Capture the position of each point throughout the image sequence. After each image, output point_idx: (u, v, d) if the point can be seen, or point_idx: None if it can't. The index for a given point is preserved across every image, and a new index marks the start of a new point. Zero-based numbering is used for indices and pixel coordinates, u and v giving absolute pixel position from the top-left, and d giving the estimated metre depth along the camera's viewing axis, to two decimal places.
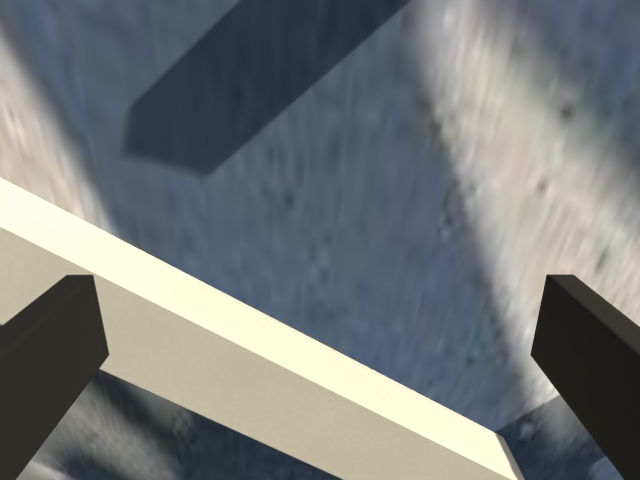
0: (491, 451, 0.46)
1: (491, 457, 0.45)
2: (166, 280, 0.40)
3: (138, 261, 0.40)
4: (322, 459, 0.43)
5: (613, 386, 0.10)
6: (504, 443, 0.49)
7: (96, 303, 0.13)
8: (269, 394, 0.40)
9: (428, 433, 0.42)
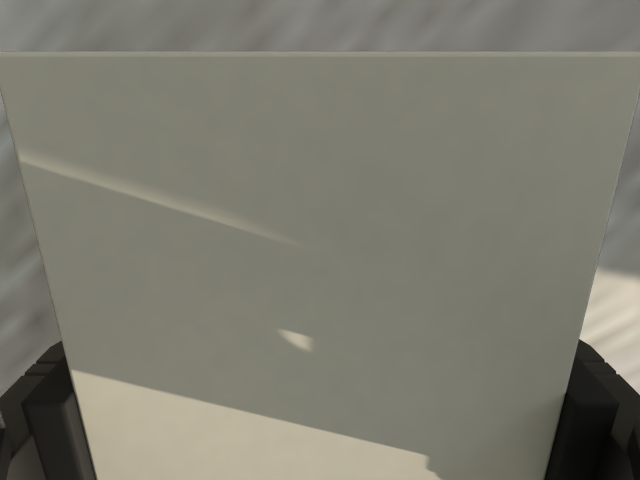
0: None
1: None
2: None
3: None
4: None
5: None
6: None
7: None
8: None
9: None
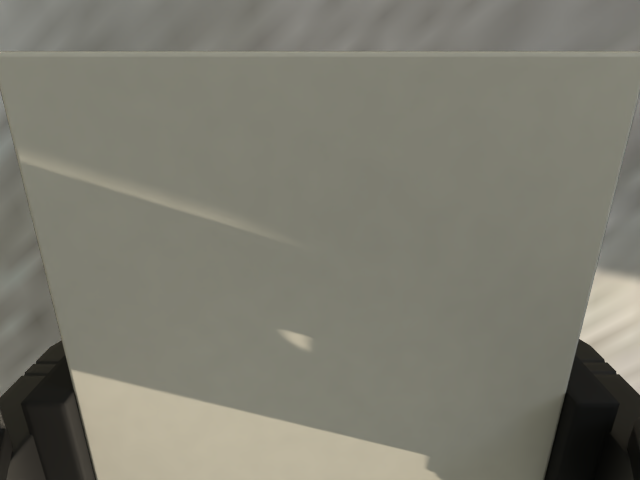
0: None
1: None
2: None
3: None
4: None
5: None
6: None
7: None
8: None
9: None
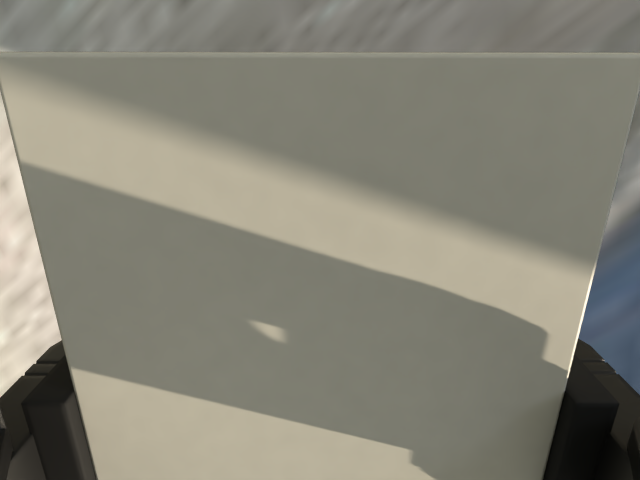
0: None
1: None
2: None
3: None
4: None
5: None
6: None
7: None
8: None
9: None
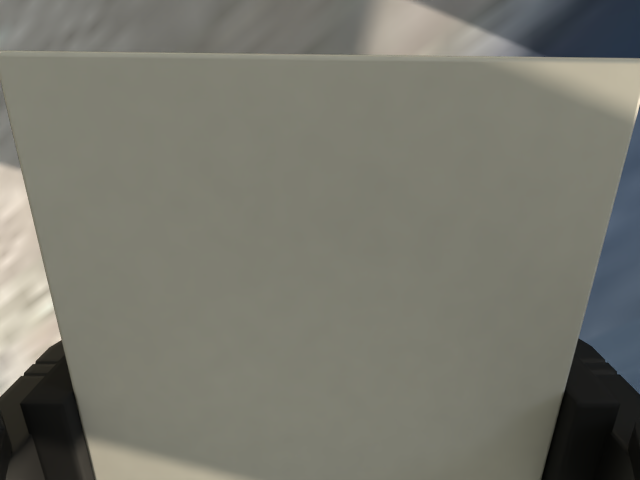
0: None
1: None
2: None
3: None
4: None
5: None
6: None
7: None
8: None
9: None
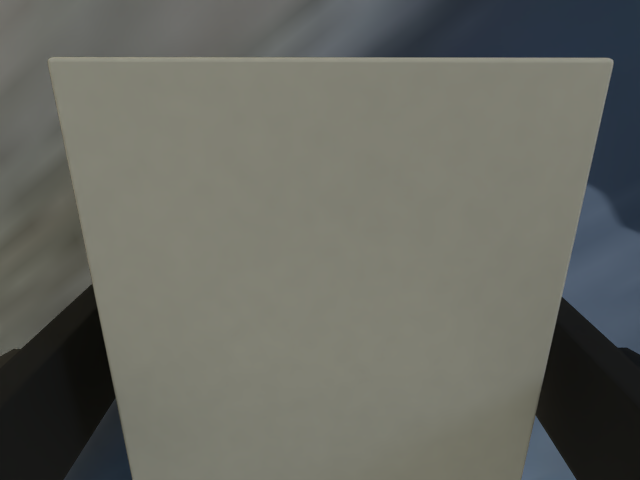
0: None
1: None
2: None
3: None
4: None
5: (550, 365, 0.10)
6: None
7: None
8: None
9: None
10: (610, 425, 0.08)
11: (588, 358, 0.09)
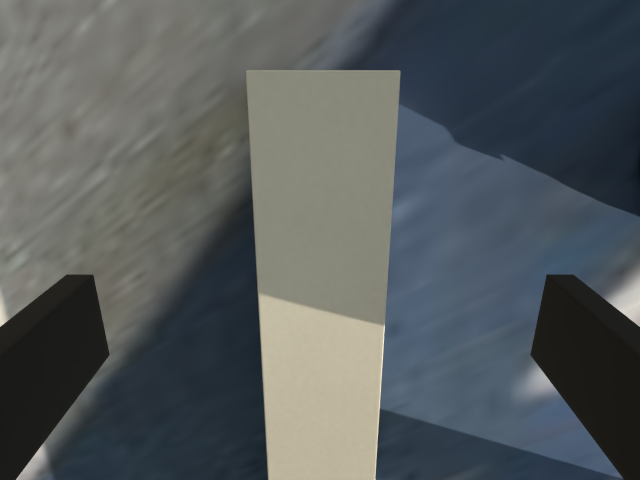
0: None
1: None
2: None
3: None
4: None
5: (613, 386, 0.10)
6: None
7: (95, 303, 0.12)
8: None
9: None
10: None
11: None
